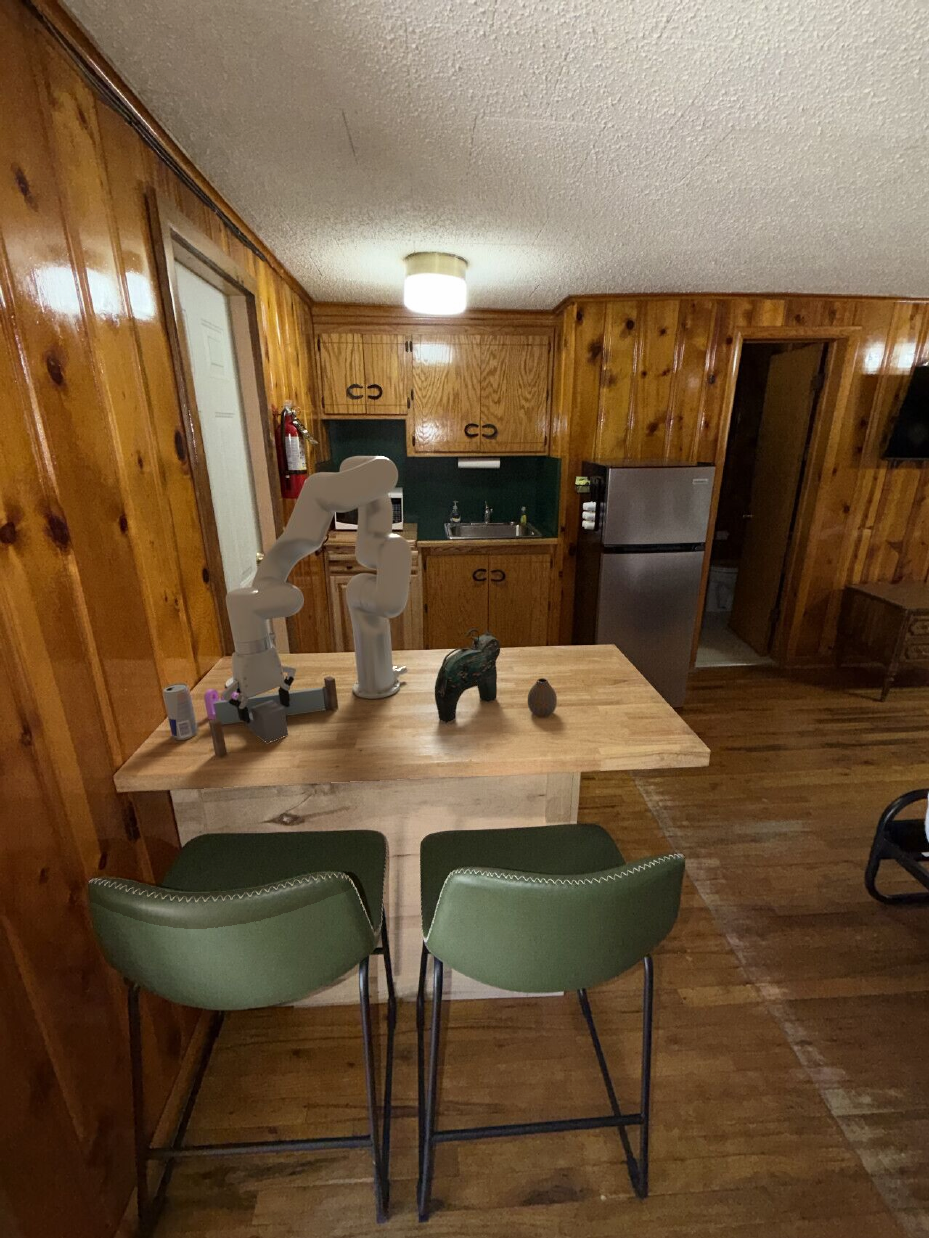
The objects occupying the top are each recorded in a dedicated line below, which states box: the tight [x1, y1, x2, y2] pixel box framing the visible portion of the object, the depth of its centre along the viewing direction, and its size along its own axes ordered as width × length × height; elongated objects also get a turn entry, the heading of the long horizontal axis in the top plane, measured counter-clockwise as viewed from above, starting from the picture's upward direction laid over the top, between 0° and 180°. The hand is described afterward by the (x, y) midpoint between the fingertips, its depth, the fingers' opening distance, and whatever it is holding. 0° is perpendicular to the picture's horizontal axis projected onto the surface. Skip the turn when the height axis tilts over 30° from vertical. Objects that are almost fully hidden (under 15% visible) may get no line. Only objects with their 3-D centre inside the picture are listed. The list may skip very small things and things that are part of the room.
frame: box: [208, 675, 339, 759], centre depth 125 cm, size 30×2×8 cm, turn 137°
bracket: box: [203, 688, 239, 720], centre depth 137 cm, size 13×6×7 cm, turn 175°
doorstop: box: [245, 700, 289, 744], centre depth 124 cm, size 5×11×7 cm, turn 44°
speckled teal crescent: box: [434, 628, 501, 724], centre depth 130 cm, size 20×6×20 cm, turn 135°
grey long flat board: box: [213, 685, 330, 725], centre depth 131 cm, size 26×1×6 cm, turn 105°
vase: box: [527, 677, 558, 718], centre depth 128 cm, size 7×7×9 cm
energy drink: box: [162, 682, 199, 741], centre depth 123 cm, size 5×5×12 cm
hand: (266, 713), depth 124 cm, fingers open, 9 cm apart
